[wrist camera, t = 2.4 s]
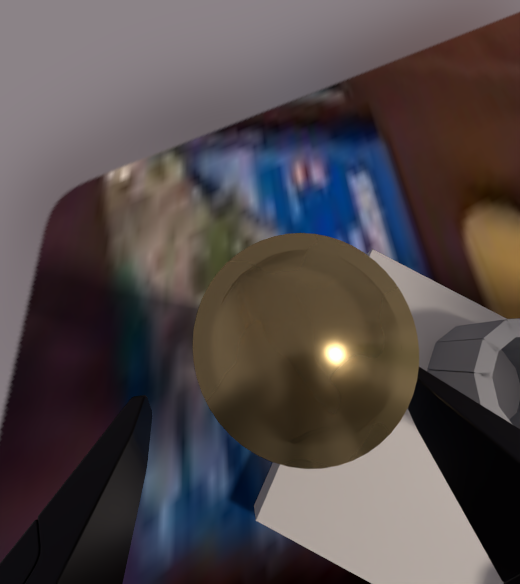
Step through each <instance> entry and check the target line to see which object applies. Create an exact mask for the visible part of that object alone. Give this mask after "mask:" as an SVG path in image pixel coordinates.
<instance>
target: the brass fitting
mask: <svg viewBox="0 0 520 584" xmlns="http://www.w3.org/2000/svg"><path fill="white" fill-rule="evenodd" d="M193 360H194V366H195V371H196V376H197V380H198V383H199V386H200V389H201V392H202V394H203V396H204V398H205V400H206V402H207V404H208V406H209V408H210V410H211V411H212V413H213V414H214V416H215V417H216V419H217V420H218V422H219V423H220V424H221V425H222V426H223V428H224V429H225V430H226V431H227V432H228V433H229V434H230V435H231V436H232V437H233V438H234V439H235V440H236V441H238V442H239V443H240V444H241V445H242V446H244V447H245V448H247V449H248V450H250V451H251V452H253V453H255V454H256V455H258V456H260V457H262V458H265V459H267V460H269V461H271V462H274V463H277V464H281V465H284V466H288V467H294V468H302V469H322V468H328V467H334V466H339V465H342V464H345V463H348V462H351V461H353V460H355V459H357V458H359V457H361V456H363V455H365V454H367V453H368V452H370V451H371V450H372V449H374V448H375V447H377V446H378V445H379V444H380V443H381V442H382V441H384V440H385V439H386V438H387V437H388V436H389V435H390V434H391V433H392V431H393V430H394V429H395V427H396V426H397V425H398V423H399V422H400V421H401V419H402V417H403V415H404V414H405V412H406V410H407V408H408V406H409V404H410V401H411V399H412V396H413V394H414V390H415V386H416V382H417V377H418V369H419V344H418V336H417V331H416V327H415V323H414V319H413V317H412V314H411V311H410V308H409V306H408V304H407V302H406V300H405V298H404V296H403V294H402V292H401V291H400V289H399V288H398V286H397V285H396V283H395V282H394V281H393V279H392V278H391V277H390V276H389V275H388V273H387V272H386V271H385V270H384V269H383V268H382V267H381V266H380V265H379V264H378V263H377V262H376V261H374V260H373V259H372V258H370V257H369V256H368V255H366V254H365V253H364V252H362V251H360V250H359V249H357V248H355V247H353V246H352V245H349V244H347V243H345V242H343V241H340V240H337V239H334V238H331V237H328V236H322V235H317V234H306V233H295V234H285V235H279V236H274V237H271V238H268V239H265V240H262V241H259V242H257V243H255V244H253V245H251V246H249V247H247V248H246V249H244V250H243V251H241V252H240V253H238V254H237V255H236V256H234V257H233V258H232V259H231V260H230V261H229V262H227V263H226V264H225V265H224V267H223V268H222V269H221V270H220V271H219V272H218V273H217V274H216V276H215V277H214V279H213V280H212V282H211V283H210V285H209V286H208V288H207V290H206V292H205V294H204V296H203V298H202V301H201V303H200V306H199V309H198V312H197V316H196V320H195V325H194V332H193Z"/></svg>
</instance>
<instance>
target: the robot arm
mask: <svg viewBox="0 0 520 584" xmlns="http://www.w3.org/2000/svg"><path fill="white" fill-rule="evenodd" d="M408 411H409V413H410V415H411V417H412V420H413V422H414V424H415V426H416V428H417V430H418V432H419V434H420V435H421V437H422V439H423V441H424V443H425V444H426V446H427V448H428V450H429V452H430V453H431V455H432V457H433V459H434V460H435V462H436V464H437V466H438V468H439V469H440V471H441V473H442V475H443V477H444V478H445V480H446V482H447V484H448V486H449V487H450V489H451V491H452V493H453V494H454V496H455V498H456V500H457V502H458V503H459V505H460V507H461V509H462V511H463V512H464V514H465V516H466V518H467V519H468V521H469V523H470V525H471V527H472V528H473V530H474V532H475V534H476V536H477V537H478V539H479V541H480V543H481V544H482V546H483V548H484V550H485V552H486V553H487V555H488V557H489V559H490V561H491V562H492V564H493V566H494V568H495V570H496V571H497V573H498V575H499V577H500V578H501V580H502V581H503V584H520V429H519V428H517V427H516V426H514V425H513V424H511V423H509V422H508V421H506V420H505V419H503V418H501V417H500V416H498V415H497V414H495V413H493V412H492V411H490V410H488V409H487V408H485V407H484V406H482V405H480V404H479V403H477V402H476V401H474V400H472V399H471V398H469V397H467V396H466V395H464V394H463V393H461V392H459V391H458V390H456V389H455V388H453V387H451V386H450V385H448V384H447V383H445V382H443V381H442V380H440V379H438V378H437V377H435V376H434V375H432V374H430V373H429V372H427V371H426V370H424V369H422V368H421V367H419V369H418V377H417V382H416V386H415V390H414V394H413V396H412V399H411V401H410V404H409V406H408ZM151 423H152V410H151V407H150V404H149V401H148V399H147V397H146V396H145V395H143V396H135V397H132V398H131V399H130V400H129V402H128V403H127V404H126V406H125V407H124V408H123V409H122V411H121V412H120V413H119V414H118V416H117V417H116V418H115V419H114V421H113V422H112V423H111V425H110V426H109V427H108V428H107V430H106V431H105V432H104V433H103V435H102V436H101V437H100V438H99V440H98V441H97V442H96V444H95V445H94V446H93V447H92V449H91V450H90V451H89V452H88V454H87V455H86V456H85V457H84V459H83V460H82V461H81V463H80V464H79V465H78V466H77V468H76V469H75V470H74V471H73V473H72V474H71V475H70V476H69V478H68V479H67V480H66V482H65V483H64V484H63V485H62V487H61V488H60V489H59V490H58V492H57V493H56V494H55V495H54V497H53V498H52V499H51V501H50V502H49V503H48V504H47V506H46V507H45V508H44V509H43V511H42V512H41V513H40V514H39V516H38V520H35V521H34V522H33V523H32V524H31V526H30V527H29V528H28V529H27V531H26V532H25V533H24V535H23V536H22V537H21V538H20V540H19V541H18V542H17V543H16V544H15V546H14V547H13V548H12V549H11V551H10V552H9V553H8V554H7V555H6V557H5V558H4V559H3V560H2V562H1V563H0V584H122V583H123V578H124V573H125V568H126V564H127V559H128V554H129V550H130V545H131V540H132V535H133V531H134V526H135V521H136V516H137V512H138V507H139V502H140V498H141V493H142V488H143V483H144V479H145V474H146V468H147V461H148V452H149V442H150V432H151Z"/></svg>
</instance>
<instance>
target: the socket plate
mask: <svg viewBox="0 0 520 584" xmlns="http://www.w3.org/2000/svg"><path fill="white" fill-rule="evenodd" d="M366 255H368V256H369V257H370V258H372V259H373V260H374V261H376V262H377V263H378V264H379V265H380V266H381V267H382V268H383V269H384V270H385V271H386V272H387V273H388V275H389V276H390V277H391V278H392V279H393V281H394V282H395V283H396V285H397V286H398V288H399V289H400V291H401V292H402V294H403V296H404V298H405V300H406V302H407V304H408V306H409V308H410V311H411V314H412V317H413V319H414V323H415V327H416V331H417V336H418V344H419V367H421V368H422V369H424V370H426V371H427V372H429V373H430V374H432V375H434V376H435V377H437V378H438V379H440V380H442V381H443V382H445V383H447V384H448V385H450V386H451V387H453V388H455V389H456V390H458V391H459V392H461V393H463V394H464V395H466V396H467V397H469V398H471V399H472V400H474V401H476V402H477V403H479V404H480V405H482V406H484V407H485V408H487V409H488V410H490V411H492V412H493V413H495V414H497V415H498V416H500V417H501V418H503V419H505V420H506V421H508V422H509V423H511V424H513V425H514V426H516V427H517V428H519V429H520V319H506V318H504V317H502V316H500V315H498V314H496V313H495V312H493V311H491V310H489V309H487V308H485V307H483V306H481V305H479V304H477V303H475V302H473V301H471V300H469V299H467V298H466V297H464V296H462V295H460V294H458V293H456V292H454V291H452V290H450V289H448V288H446V287H444V286H442V285H440V284H439V283H437V282H435V281H433V280H431V279H429V278H427V277H425V276H423V275H421V274H419V273H417V272H415V271H413V270H411V269H410V268H408V267H406V266H404V265H402V264H400V263H398V262H396V261H394V260H392V259H390V258H388V257H386V256H384V255H383V254H381V253H379V252H377V251H375V250H373V249H372V250H371V251H370V252H368V253H367V254H366ZM254 510H255V517H256V521H258V522H260V523H262V524H263V525H265V526H267V527H269V528H271V529H273V530H274V531H276V532H278V533H280V534H282V535H284V536H285V537H287V538H289V539H291V540H293V541H295V542H296V543H298V544H300V545H302V546H304V547H306V548H308V549H309V550H311V551H313V552H315V553H317V554H319V555H320V556H322V557H324V558H326V559H328V560H330V561H331V562H333V563H335V564H337V565H339V566H341V567H342V568H344V569H346V570H348V571H350V572H352V573H354V574H355V575H357V576H359V577H361V578H363V579H365V580H366V581H368V582H370V583H372V584H503V581H502V580H501V578H500V577H499V575H498V573H497V571H496V570H495V568H494V566H493V564H492V562H491V561H490V559H489V557H488V555H487V553H486V552H485V550H484V548H483V546H482V544H481V543H480V541H479V539H478V537H477V536H476V534H475V532H474V530H473V528H472V527H471V525H470V523H469V521H468V519H467V518H466V516H465V514H464V512H463V511H462V509H461V507H460V505H459V503H458V502H457V500H456V498H455V496H454V494H453V493H452V491H451V489H450V487H449V486H448V484H447V482H446V480H445V478H444V477H443V475H442V473H441V471H440V469H439V468H438V466H437V464H436V462H435V460H434V459H433V457H432V455H431V453H430V452H429V450H428V448H427V446H426V444H425V443H424V441H423V439H422V437H421V435H420V434H419V432H418V430H417V428H416V426H415V424H414V422H413V420H412V417H411V415H410V413H409V411H408V408H407V410H406V412H405V414H404V415H403V417H402V419H401V421H400V422H399V423H398V425H397V426H396V427H395V429H394V430H393V431H392V433H391V434H390V435H389V436H388V437H387V438H386V439H385V440H384V441H382V442H381V443H380V444H379V445H378V446H377V447H375V448H374V449H372V450H371V451H370V452H368V453H367V454H365V455H363V456H361V457H359V458H357V459H355V460H353V461H351V462H348V463H345V464H342V465H339V466H334V467H328V468H322V469H302V468H294V467H288V466H284V465H281V464H277V463H274V462H273V463H272V466H271V468H270V470H269V472H268V475H267V477H266V479H265V482H264V484H263V486H262V488H261V491H260V493H259V495H258V498H257V500H256V502H255V504H254Z"/></svg>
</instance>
